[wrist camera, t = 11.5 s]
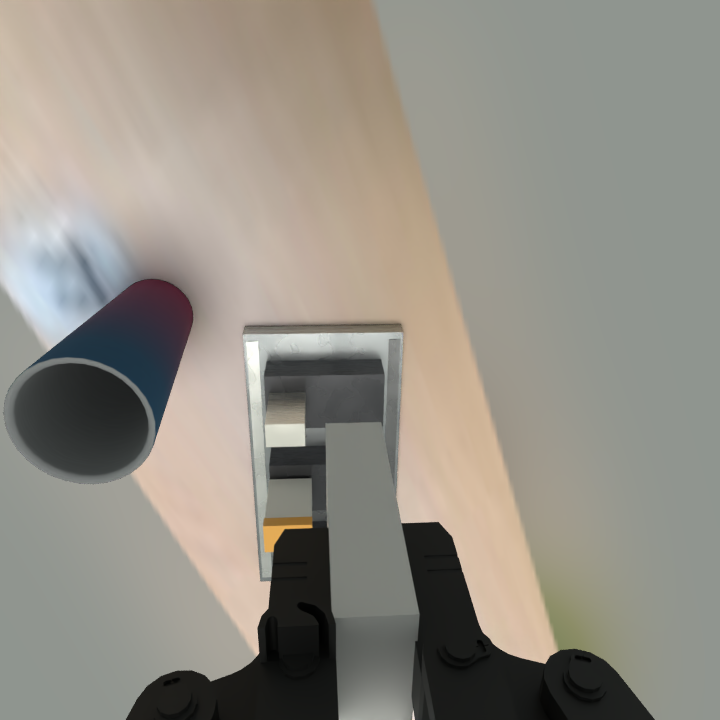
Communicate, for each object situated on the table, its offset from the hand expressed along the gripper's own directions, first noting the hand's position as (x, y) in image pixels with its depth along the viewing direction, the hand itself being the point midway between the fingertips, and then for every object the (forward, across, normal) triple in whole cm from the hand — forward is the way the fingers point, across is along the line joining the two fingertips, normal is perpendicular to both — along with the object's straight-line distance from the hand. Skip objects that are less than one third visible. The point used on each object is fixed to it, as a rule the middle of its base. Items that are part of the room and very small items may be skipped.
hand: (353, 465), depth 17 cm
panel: (+26, 0, -17) cm, 31 cm away
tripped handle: (+22, -3, -17) cm, 28 cm away
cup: (+27, -12, -5) cm, 30 cm away
